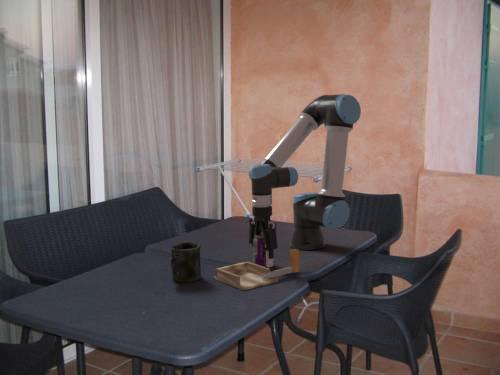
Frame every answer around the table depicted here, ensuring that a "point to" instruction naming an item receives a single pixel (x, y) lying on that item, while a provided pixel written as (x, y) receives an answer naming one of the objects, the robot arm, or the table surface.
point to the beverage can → (260, 250)
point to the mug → (186, 262)
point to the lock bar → (294, 268)
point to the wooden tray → (243, 275)
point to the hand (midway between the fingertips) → (263, 264)
